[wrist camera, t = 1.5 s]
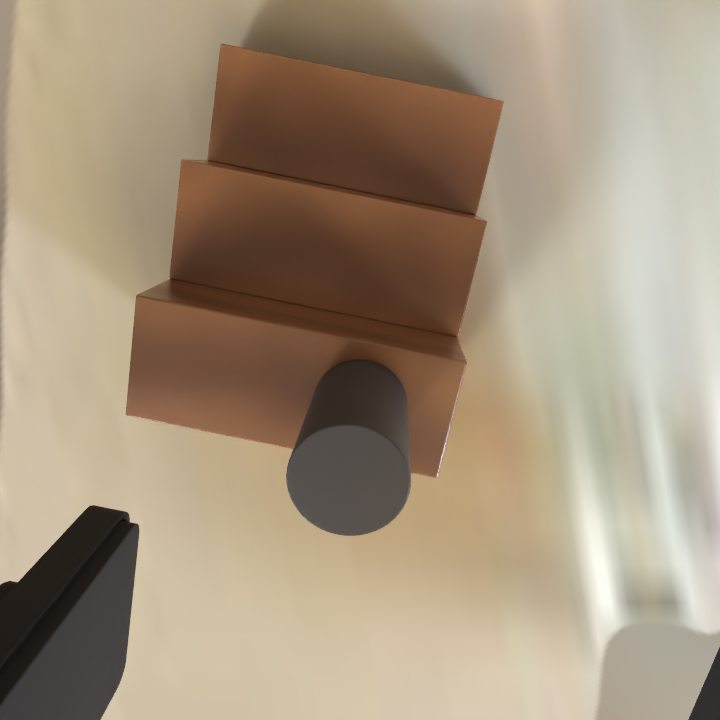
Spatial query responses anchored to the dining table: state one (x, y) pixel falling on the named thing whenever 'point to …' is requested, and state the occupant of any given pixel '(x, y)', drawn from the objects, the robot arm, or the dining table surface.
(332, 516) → the cylinder
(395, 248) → the step rack
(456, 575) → the dining table surface
